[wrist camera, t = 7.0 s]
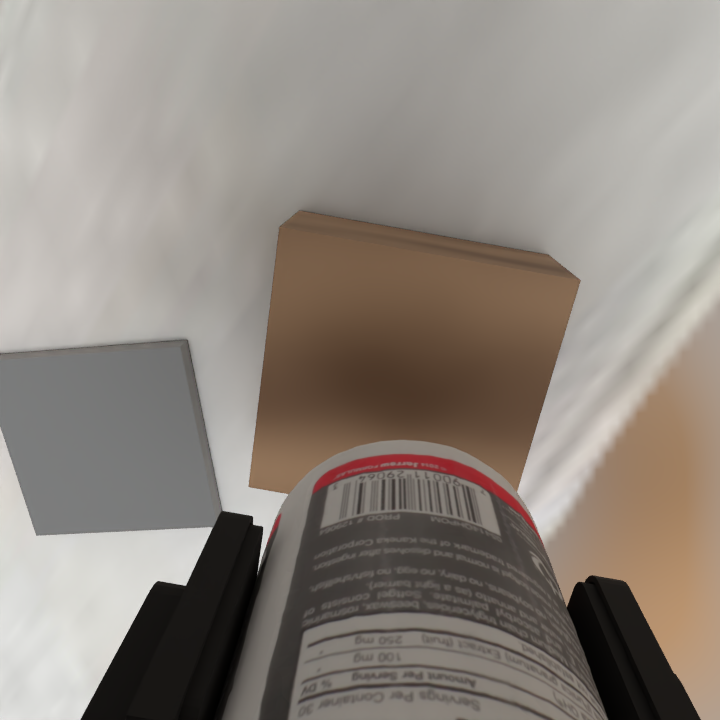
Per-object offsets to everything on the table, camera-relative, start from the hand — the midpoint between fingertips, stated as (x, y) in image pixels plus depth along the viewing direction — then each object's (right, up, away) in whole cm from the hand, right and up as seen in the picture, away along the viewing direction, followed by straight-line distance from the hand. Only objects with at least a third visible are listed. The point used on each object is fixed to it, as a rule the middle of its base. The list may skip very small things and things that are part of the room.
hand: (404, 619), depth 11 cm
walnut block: (+1, +5, +13) cm, 14 cm away
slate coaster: (-11, +1, +15) cm, 18 cm away
